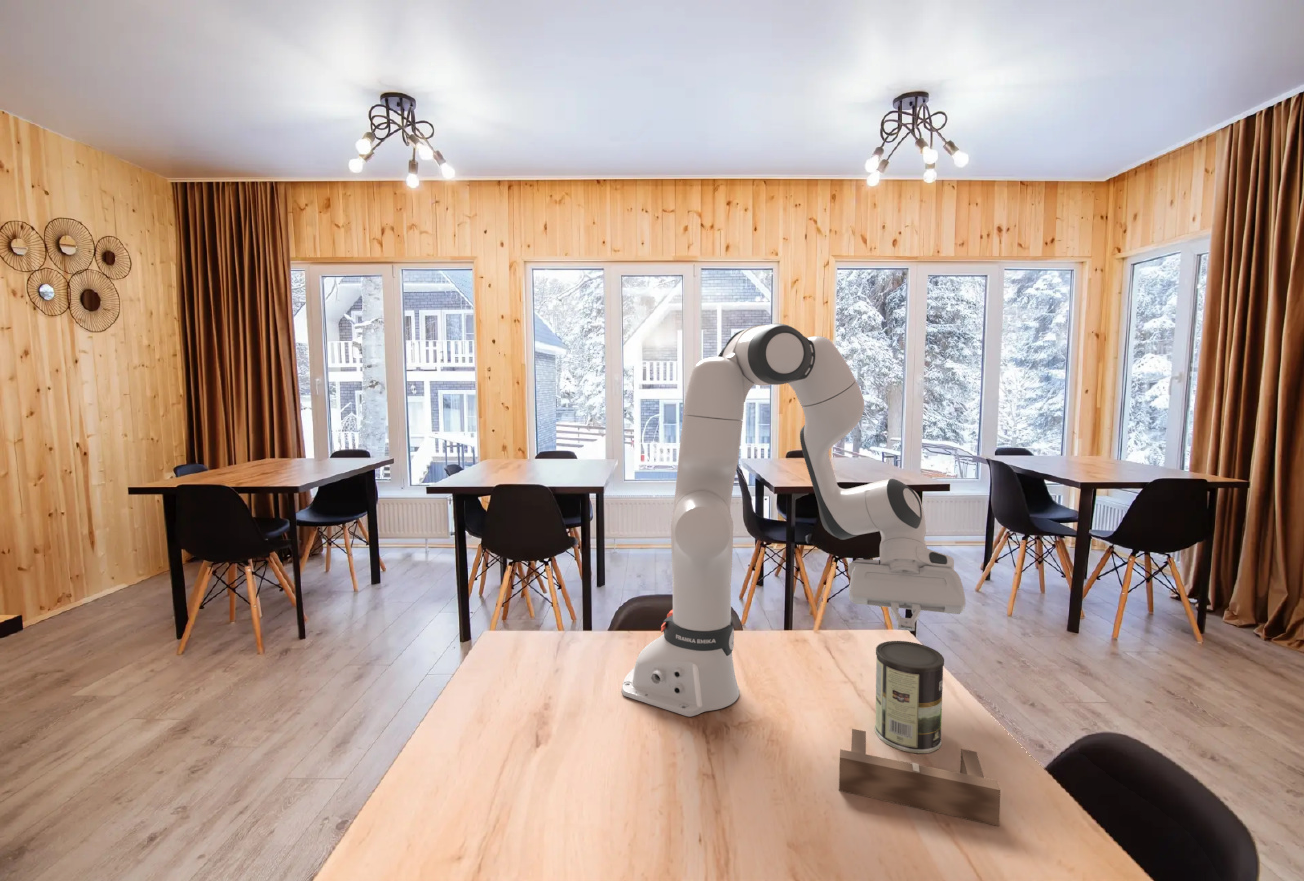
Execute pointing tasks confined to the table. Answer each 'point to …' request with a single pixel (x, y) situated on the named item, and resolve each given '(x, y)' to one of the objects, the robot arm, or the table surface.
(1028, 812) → the table surface
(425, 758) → the table surface
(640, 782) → the table surface
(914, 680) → the coffee can
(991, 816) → the walnut rail
